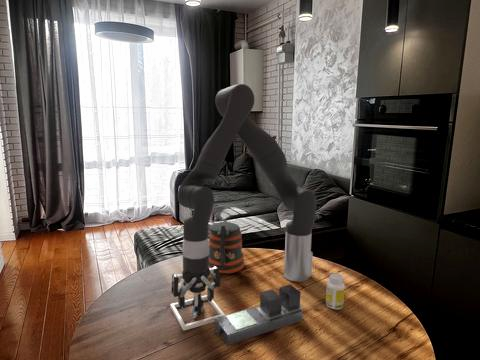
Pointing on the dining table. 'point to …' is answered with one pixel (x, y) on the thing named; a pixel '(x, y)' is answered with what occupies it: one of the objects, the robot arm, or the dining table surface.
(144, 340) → the dining table surface
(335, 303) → the supplement bottle
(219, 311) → the empty frame
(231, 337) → the power strip
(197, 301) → the push button
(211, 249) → the beer stein
